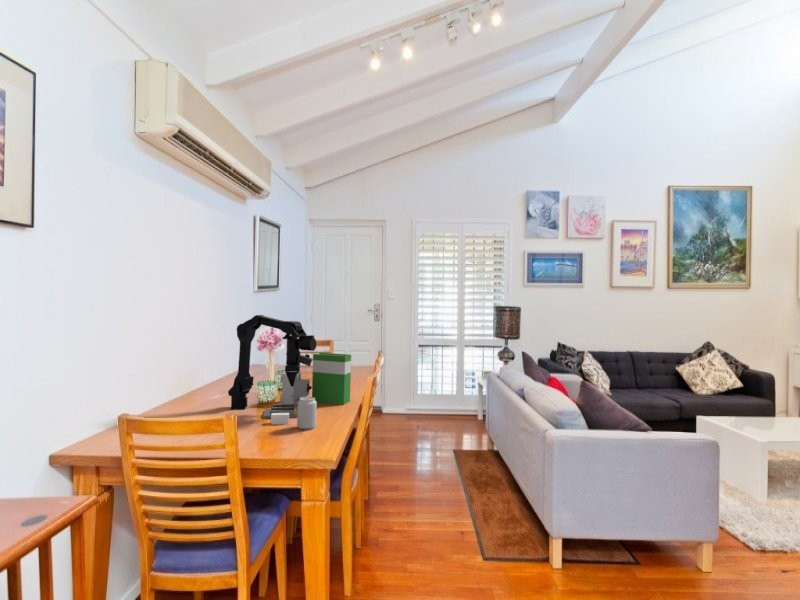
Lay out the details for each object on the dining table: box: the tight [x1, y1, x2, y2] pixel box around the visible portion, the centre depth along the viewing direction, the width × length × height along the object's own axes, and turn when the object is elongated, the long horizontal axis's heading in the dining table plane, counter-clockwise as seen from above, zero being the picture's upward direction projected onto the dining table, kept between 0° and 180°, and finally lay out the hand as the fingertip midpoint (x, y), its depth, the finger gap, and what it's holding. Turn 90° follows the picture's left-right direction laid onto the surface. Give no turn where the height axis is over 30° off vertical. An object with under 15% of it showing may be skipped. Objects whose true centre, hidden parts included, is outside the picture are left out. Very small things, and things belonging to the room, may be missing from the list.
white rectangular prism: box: [270, 413, 290, 425], centre depth 187 cm, size 7×3×4 cm, turn 100°
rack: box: [262, 403, 298, 419], centre depth 201 cm, size 16×13×3 cm
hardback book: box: [311, 352, 352, 406], centre depth 228 cm, size 18×7×24 cm, turn 72°
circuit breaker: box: [279, 371, 312, 406], centre depth 223 cm, size 8×14×15 cm, turn 89°
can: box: [296, 396, 318, 431], centre depth 181 cm, size 8×8×12 cm
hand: (292, 384), depth 201 cm, fingers open, 9 cm apart
